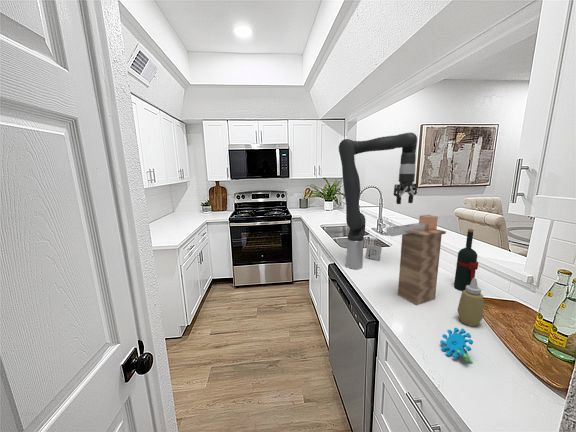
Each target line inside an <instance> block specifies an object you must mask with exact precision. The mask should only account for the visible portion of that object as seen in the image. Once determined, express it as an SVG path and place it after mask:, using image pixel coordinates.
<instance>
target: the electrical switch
mask: <svg viewBox="0 0 576 432" xmlns="http://www.w3.org/2000/svg"><path fill="white" fill-rule="evenodd" d="M381 255H382V246H380V245H374V244H369V243H368V244H367V245H366V251H365V257H364V258H366V259H368V258H370V259H369V260H373V259H374V261H377V260H378V262H379V261H380V260H381Z"/></svg>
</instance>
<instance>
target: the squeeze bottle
mask: <svg viewBox="0 0 576 432" xmlns="http://www.w3.org/2000/svg"><path fill="white" fill-rule="evenodd" d="M481 292H482V288H480V287H479V286H478V280H477V278H476V277H475V278H473V279H472V281H471V283H470V285H467V286H466V289H465V290H464V291H461V295H460V299H459V302H458V306H457V309H456V310H457V314H458V317H459V321H460V322H461V323H463V324H464V325H467V326H470V327H478V326H479V324H480V323H481V321H482V320H483V319H484V295H483V294H482V293H481Z"/></svg>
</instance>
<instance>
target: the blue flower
mask: <svg viewBox="0 0 576 432" xmlns="http://www.w3.org/2000/svg"><path fill="white" fill-rule="evenodd" d="M446 332H447V333H448V334H445V333H443V334H442V335H441V337H442V339H441V340H440V344H441V347H440V348H441V350H442V352H445V354H446V355H447V356H448V357H451V355H452V357H454V358H455V359H458V358H459V355H460V356H461V357H462V359H464V360H465V361H468V362H469V363H470V364H473V363H474V362H473V361H472V359H470V358H471V357H470V356H469V353H468V352H470V351H471V350H472V348H471V347H470V346H469V345H467V343H468V344H470V345H471V346H472V345H474V340H473V339H471V338H472V335H471V334H470V333H469V332H467V331H466V330H465V329H464V328H461V329H459V328H458V327H453V331H452V329H447V331H446ZM467 338H468V339H467ZM443 339H445V340H446V342H445V341H444V340H443Z"/></svg>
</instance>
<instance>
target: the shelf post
mask: <svg viewBox="0 0 576 432" xmlns="http://www.w3.org/2000/svg"><path fill="white" fill-rule="evenodd" d="M445 234H447V232H446V231H445V230H443V229H442V230H441V229H438V228H437V230H433V231H422V232H416V233H410V234H403V235H401V247H400V258H399V260H400V261H399V273H398V288H397V296H399V297H400V298H402V299H404V300H406V301H407V302H409V303H411V304H413V305H414V306H419V305H421V304H425V303H428V302H431V301H435V299H436V291H437V283H438V282H437V280H438V273H439V263H440V255H441V254H440V253H441V244H442V243H441V242H442V235H445Z"/></svg>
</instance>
